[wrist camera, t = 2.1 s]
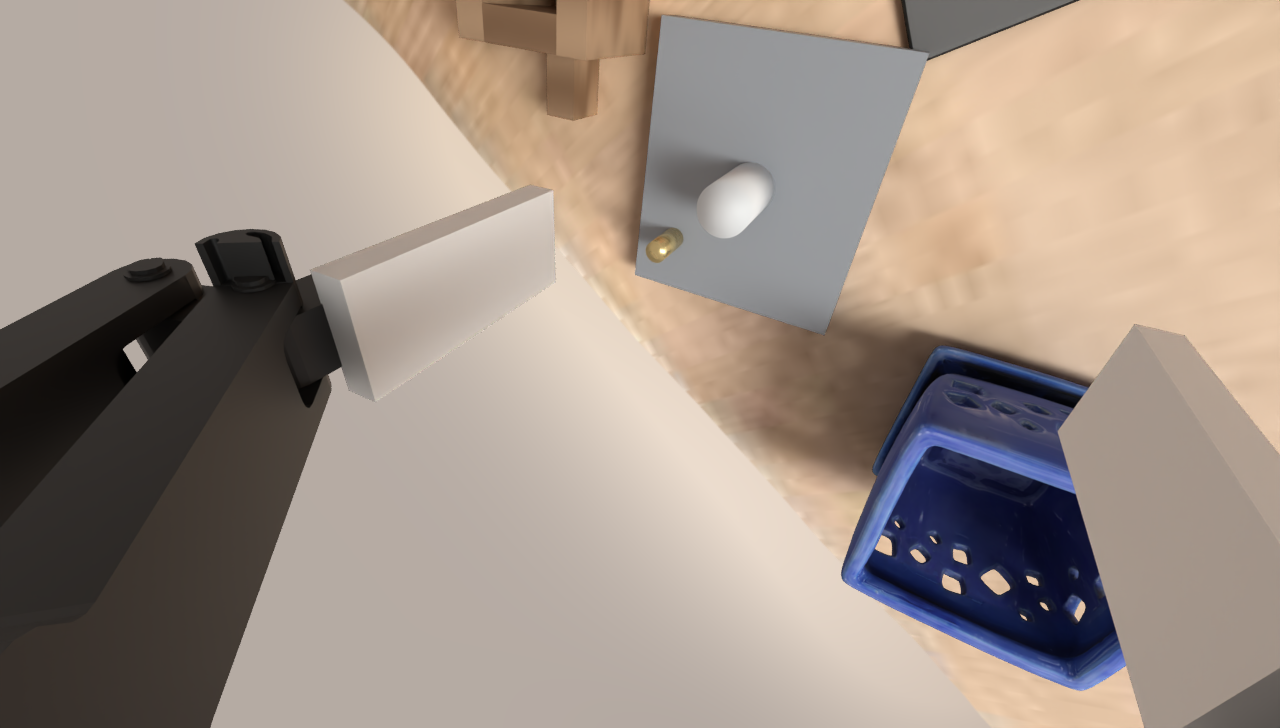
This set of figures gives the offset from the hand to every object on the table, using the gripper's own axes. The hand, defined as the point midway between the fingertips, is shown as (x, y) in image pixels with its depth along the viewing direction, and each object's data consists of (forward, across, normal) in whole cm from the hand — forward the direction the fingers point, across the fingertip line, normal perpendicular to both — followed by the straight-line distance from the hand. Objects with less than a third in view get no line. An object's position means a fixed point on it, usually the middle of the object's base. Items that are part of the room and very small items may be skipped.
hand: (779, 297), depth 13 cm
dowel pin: (+20, -10, -7) cm, 24 cm away
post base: (+22, -6, -3) cm, 23 cm away
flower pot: (+22, +13, -16) cm, 30 cm away
